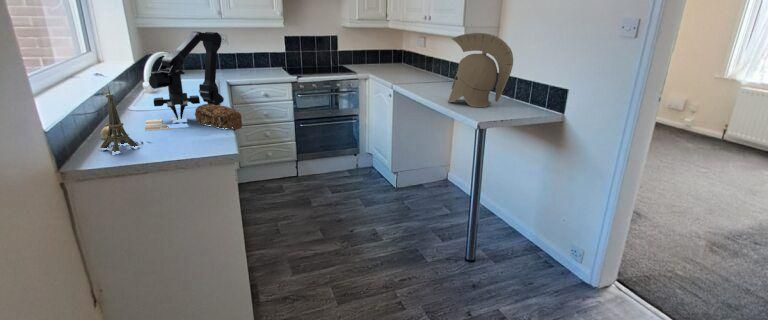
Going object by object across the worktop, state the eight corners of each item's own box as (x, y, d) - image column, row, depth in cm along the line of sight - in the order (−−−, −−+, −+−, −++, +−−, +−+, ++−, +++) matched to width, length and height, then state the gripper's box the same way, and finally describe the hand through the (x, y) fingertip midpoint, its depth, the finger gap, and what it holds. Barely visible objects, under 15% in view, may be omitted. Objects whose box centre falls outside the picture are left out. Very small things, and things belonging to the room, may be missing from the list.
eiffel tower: (114, 155, 156) (100, 86, 148) (97, 150, 161) (83, 83, 152) (142, 148, 165) (130, 82, 156) (125, 143, 170) (113, 79, 161)
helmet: (452, 98, 269) (457, 31, 255) (510, 104, 254) (519, 34, 241) (441, 104, 252) (446, 32, 238) (503, 111, 237) (512, 35, 224)
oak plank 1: (146, 123, 195) (145, 120, 195) (162, 122, 198) (161, 119, 198) (146, 128, 189) (145, 125, 188) (162, 127, 192) (162, 124, 191)
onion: (125, 136, 178) (122, 120, 175) (125, 142, 171) (122, 124, 169) (102, 139, 174) (99, 122, 172) (101, 144, 168) (98, 127, 165)
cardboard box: (146, 129, 188) (145, 125, 188) (188, 125, 195) (188, 122, 195) (145, 134, 181) (144, 131, 180) (189, 130, 188) (189, 127, 187)
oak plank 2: (172, 121, 200) (171, 118, 199) (187, 120, 203) (187, 117, 202) (172, 126, 193) (172, 123, 193) (188, 125, 196) (188, 122, 195)
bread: (195, 127, 194) (193, 105, 191) (215, 122, 203) (213, 101, 199) (224, 133, 185) (222, 111, 182) (243, 128, 194) (241, 106, 191)
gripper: (151, 89, 182) (156, 125, 188) (198, 87, 190) (202, 121, 196) (151, 85, 192) (156, 119, 197) (197, 83, 200) (200, 116, 205)
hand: (179, 119), depth 199 cm, fingers closed on oak plank 2
